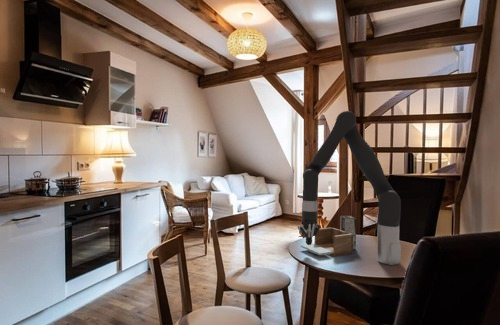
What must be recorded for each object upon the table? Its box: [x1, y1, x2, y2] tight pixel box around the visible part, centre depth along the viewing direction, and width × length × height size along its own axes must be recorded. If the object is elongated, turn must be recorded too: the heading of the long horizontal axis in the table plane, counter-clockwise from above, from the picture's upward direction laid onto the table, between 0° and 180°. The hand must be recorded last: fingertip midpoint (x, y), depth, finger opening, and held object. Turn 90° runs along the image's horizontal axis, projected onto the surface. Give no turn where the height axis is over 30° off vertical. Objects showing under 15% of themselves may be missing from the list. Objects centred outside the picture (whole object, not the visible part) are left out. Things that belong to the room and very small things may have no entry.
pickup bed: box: [313, 226, 354, 258], centre depth 162 cm, size 16×12×10 cm
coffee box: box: [339, 215, 357, 250], centre depth 171 cm, size 9×6×16 cm
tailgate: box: [300, 243, 332, 256], centre depth 158 cm, size 15×2×8 cm
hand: (308, 244), depth 156 cm, fingers closed
